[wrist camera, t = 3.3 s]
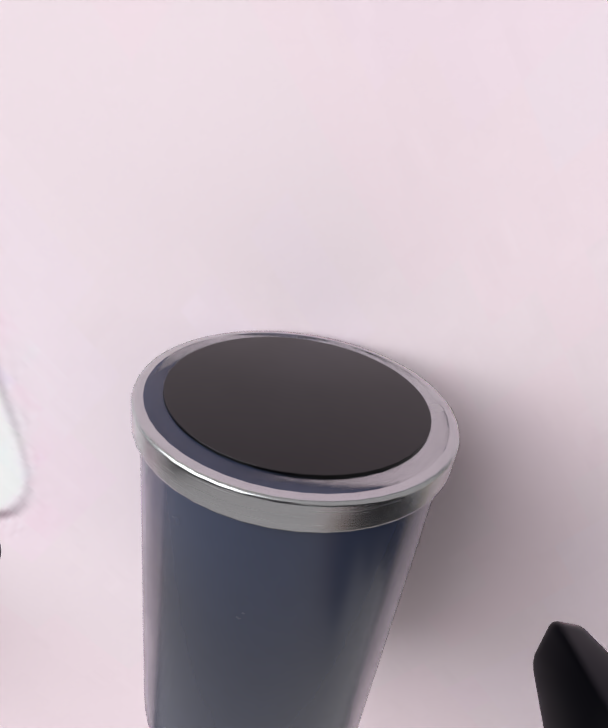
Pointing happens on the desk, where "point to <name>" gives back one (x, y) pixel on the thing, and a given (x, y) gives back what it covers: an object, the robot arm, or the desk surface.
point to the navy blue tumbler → (278, 523)
